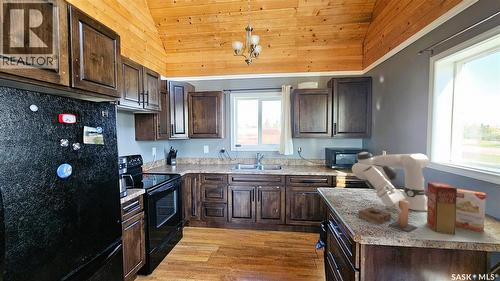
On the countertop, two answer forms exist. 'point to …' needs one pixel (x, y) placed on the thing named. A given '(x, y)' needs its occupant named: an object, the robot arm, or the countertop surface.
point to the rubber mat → (407, 229)
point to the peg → (403, 213)
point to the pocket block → (375, 215)
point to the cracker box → (470, 209)
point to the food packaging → (441, 207)
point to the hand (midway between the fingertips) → (404, 210)
